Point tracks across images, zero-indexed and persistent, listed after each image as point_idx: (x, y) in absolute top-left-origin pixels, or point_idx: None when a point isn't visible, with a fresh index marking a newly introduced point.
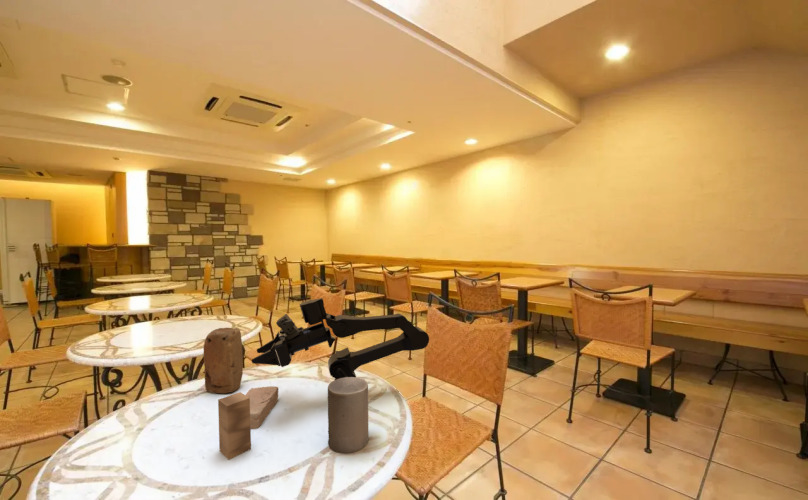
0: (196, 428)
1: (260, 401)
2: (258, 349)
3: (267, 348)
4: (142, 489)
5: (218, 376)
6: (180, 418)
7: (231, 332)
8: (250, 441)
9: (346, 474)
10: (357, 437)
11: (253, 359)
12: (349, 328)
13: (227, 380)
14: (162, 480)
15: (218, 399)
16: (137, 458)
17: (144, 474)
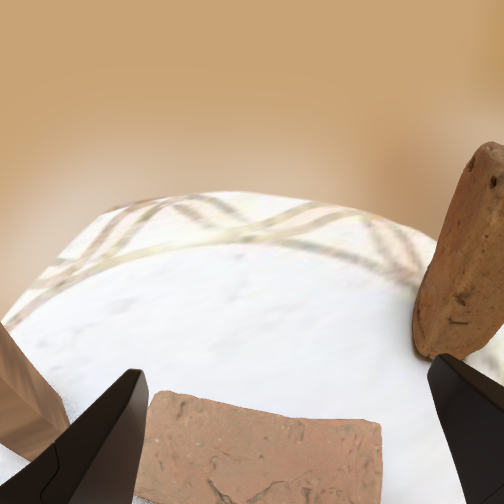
0: (206, 331)
1: (233, 490)
2: (441, 366)
3: (471, 433)
4: (27, 297)
5: (430, 287)
6: (277, 286)
7: None
8: (20, 454)
9: None
10: None
11: (122, 380)
12: None
13: (428, 320)
14: (29, 316)
15: None
16: (125, 267)
17: (65, 289)
